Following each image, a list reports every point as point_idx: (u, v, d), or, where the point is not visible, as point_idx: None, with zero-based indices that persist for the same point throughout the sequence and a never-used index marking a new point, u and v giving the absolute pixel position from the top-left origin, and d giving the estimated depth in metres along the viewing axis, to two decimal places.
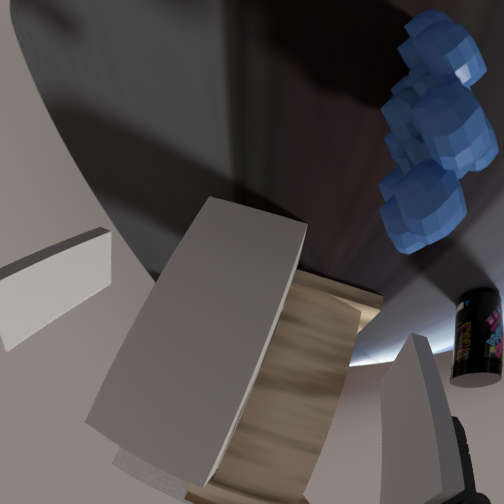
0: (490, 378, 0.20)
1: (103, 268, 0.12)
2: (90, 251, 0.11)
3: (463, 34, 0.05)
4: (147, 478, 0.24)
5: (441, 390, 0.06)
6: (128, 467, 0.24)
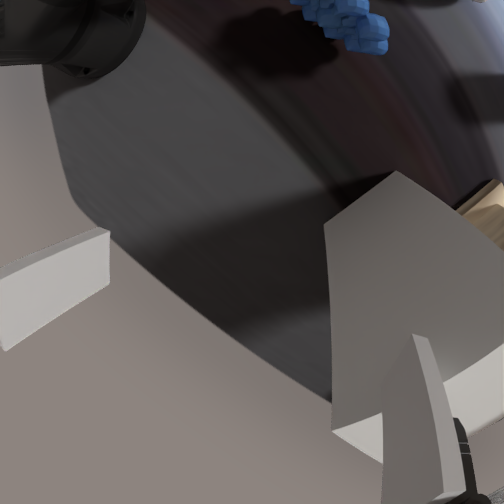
0: None
1: (102, 268, 0.12)
2: (89, 251, 0.10)
3: None
4: None
5: (442, 391, 0.06)
6: None
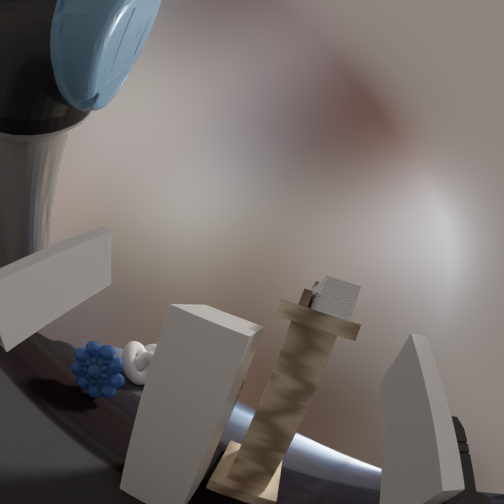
0: None
1: (103, 268, 0.12)
2: (90, 251, 0.11)
3: None
4: (319, 289, 0.28)
5: (441, 390, 0.06)
6: (321, 287, 0.25)
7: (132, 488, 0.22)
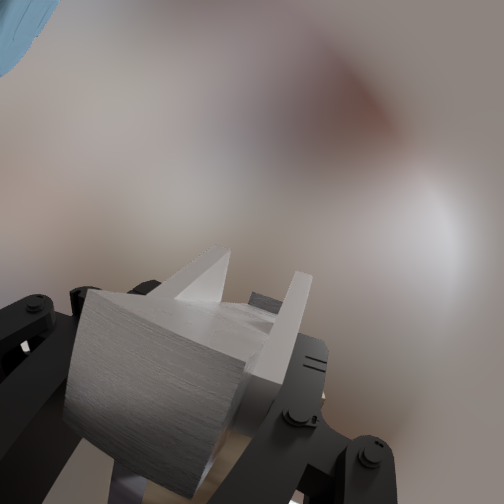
0: None
1: (220, 286, 0.13)
2: (217, 270, 0.12)
3: None
4: None
5: (303, 310, 0.09)
6: None
7: None
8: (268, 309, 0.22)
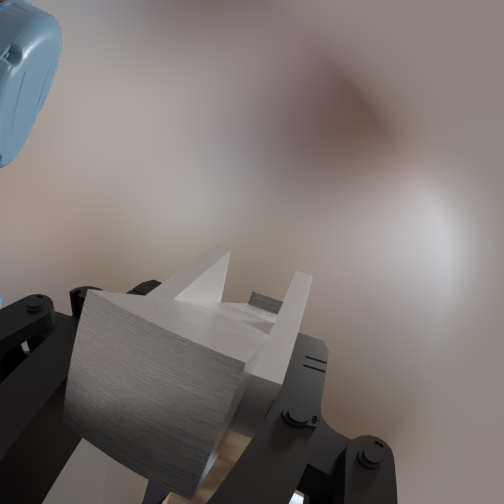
0: None
1: (220, 286, 0.13)
2: (217, 270, 0.12)
3: None
4: None
5: (303, 311, 0.09)
6: None
7: None
8: (268, 309, 0.22)
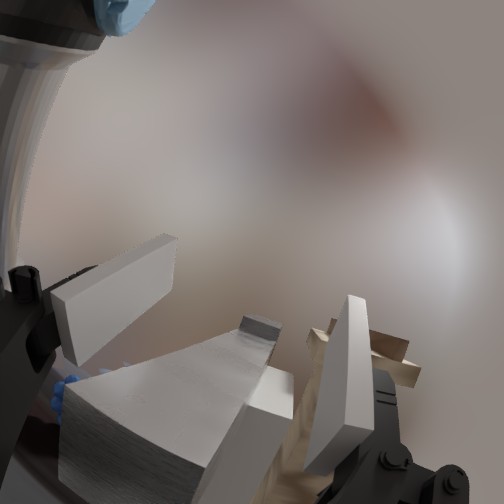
0: None
1: (168, 274, 0.13)
2: (160, 258, 0.11)
3: (57, 382, 0.32)
4: None
5: (368, 341, 0.08)
6: None
7: None
8: (259, 333, 0.21)
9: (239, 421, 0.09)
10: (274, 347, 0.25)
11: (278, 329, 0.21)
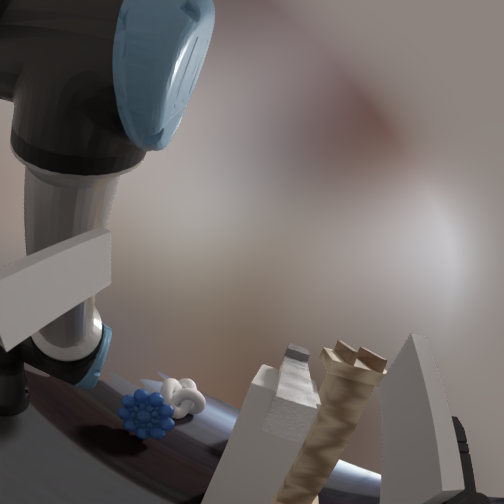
0: None
1: (103, 268, 0.12)
2: (91, 251, 0.11)
3: (125, 395, 0.46)
4: (276, 388, 0.22)
5: (441, 390, 0.06)
6: (273, 398, 0.20)
7: None
8: (297, 358, 0.35)
9: None
10: None
11: (308, 355, 0.35)
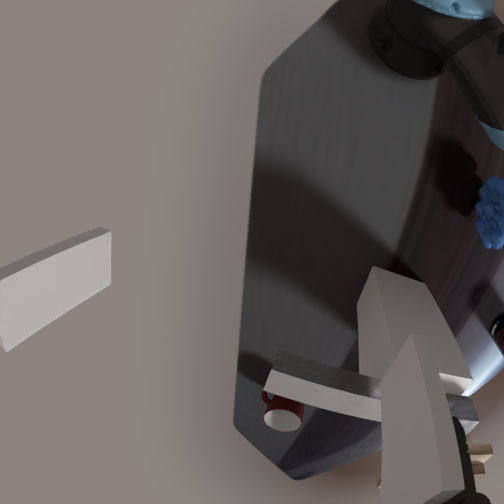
0: None
1: (103, 268, 0.12)
2: (90, 251, 0.11)
3: None
4: (324, 379, 0.23)
5: (441, 390, 0.06)
6: (296, 370, 0.24)
7: (370, 277, 0.46)
8: None
9: None
10: None
11: None
